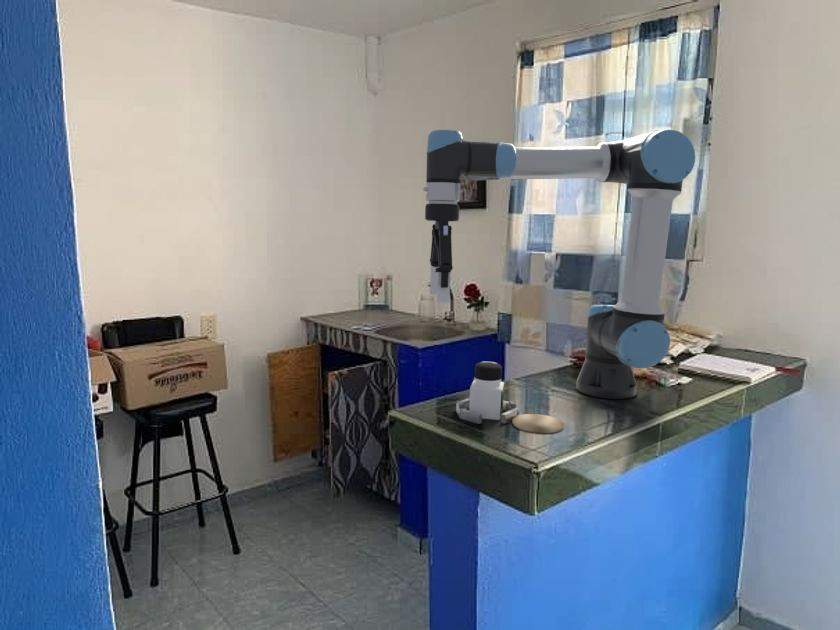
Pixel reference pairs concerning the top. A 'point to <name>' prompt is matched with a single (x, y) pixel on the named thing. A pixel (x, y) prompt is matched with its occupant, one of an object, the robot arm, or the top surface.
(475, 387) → the medicine bottle
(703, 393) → the top surface
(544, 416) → the disc
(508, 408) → the collar
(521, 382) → the top surface
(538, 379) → the top surface
